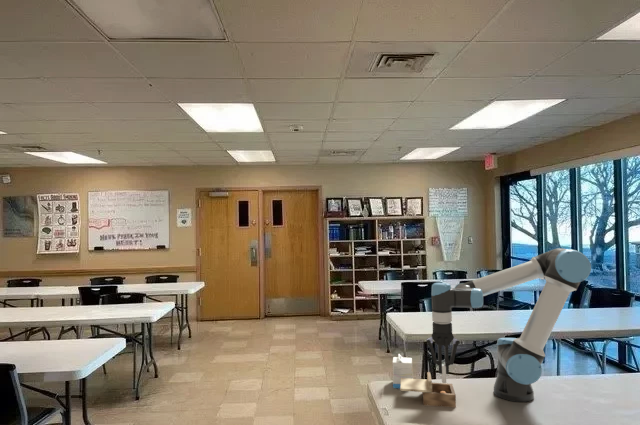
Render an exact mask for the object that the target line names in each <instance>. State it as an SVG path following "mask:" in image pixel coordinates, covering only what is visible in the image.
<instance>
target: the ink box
mask: <svg viewBox="0 0 640 425" xmlns="http://www.w3.org/2000/svg"><path fill="white" fill-rule="evenodd" d="M401 378H410V379H414V378H413V358H412V357H406V356H405V357H404V356H403V355H401V354H400V353H398V355H397V356H393V357H392V388H393V389H401Z"/></svg>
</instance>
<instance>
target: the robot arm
mask: <svg viewBox="0 0 640 425" xmlns="http://www.w3.org/2000/svg"><path fill="white" fill-rule="evenodd" d="M591 271H592V265H591V262H590V260H589V258H588V257H587V256H586V255H585V254H584V253H582V252H580V251H578V250H576V249H572V248H562V247H560V248H559V247H558V248H554V249H551V250H548V251H546V252H543V253H541V254H539V255H536V256H533V257H532V258H531V259H530V260H529V261H526V262H522V263H520V264H517V265H515V266H512V267H509V268H505V269H503V270H499V271H496V272H493V273H490V274H488V275H485V276H482V277H478V278H476V279H473V280H470V281H467V282H459V283H457V284H456V285H455V286H454V287H452V286H451V285H452V284H450V283H448V282H434V283H432V284H431V293H430V294H431V312H432V313H431V314H432V316H431V319H432V333H431V336H430V337H429V338H426V343H427V345H428V346H429V349H430V353H431V357H432V359H433V360H432V361H433V364H434V365H437V366H438V373H439V374H440V375H441V383H447V375H449V374H450V367H449V366H450V365H452V366H453V365H454V362H455V358H456V354H457V348H458V346H459V344H460V340H459V339H458V338H455V337H454V336H455V335H454V334H453V324H452V322H453V320H452V319H453V316H452V315H453V314H452V308H469V309H470V308H471V309H472V308H473V309H477V308H482V307H483V306H484V297H486V296H488V295H491V294H494V293H498V292H500V291H504V290H507V289H509V288H510V289H511V288H513V287H515V286H519V285H522V284H525V283H527V282H531V281H534V280H537V279H540V280H545V284H544V286H543V288H542V290H541V293H540V294H539V296H538V298H537V301H536V303H535V305H534V307H533V309H532V311H531V313H530V315H529V318H528V320H527V322H526V324H525V326H524V328H523V330H522V333H521V335H520V336H519V337H517V338H516V337H499V338H498V339H497V341H496V347H497V348H496V351H497V353H496V354H497V358H496V359H497V376H496V379H495V381H494V384H493V393H494V395H495V396H496V397H498V398H501V399H503V400H506V401H511V402H516V403H517V402H519V403H521V402H522V403H525V402H530V401H533V400H534V398H535V393H534V389H533V386H532V384H534V383H537V382H538V381H539V379H541V377H542V374H543V367H542V364H543V362H544V358H545V357H546V354H545V352H544V349H545V346H546V344H547V341H548V339H549V338H550V336H551V334H552V331H553V329H554V327H555V325H556V324H557V321H558V320H559V316H560V315H561V312H562V311H563V308H564V306H565V304H566V301H567V300H568V298H569V296H570V293H572V292H574V291H575V292H576V291H577V290H578V288H579V286H580V284H581V282H584V281H585V280H587V278H588V277H589V276H590V274H591ZM433 343H435V344H436V345H437V357H438V358H437V357H436V353H435V349H434V345H433ZM451 343H452V349H451V352H450V358H449V346H450V344H451ZM442 346H443V347H444V348H443V349H444V364H443V361H442V360H443V357H442V356H443V355H442V352H443V351H442Z"/></svg>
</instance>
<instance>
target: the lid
mask: <svg viewBox="0 0 640 425" xmlns="http://www.w3.org/2000/svg"><path fill="white" fill-rule="evenodd" d="M426 375H427V377H426V378H427V379H425V378H424V379H423V378H413V379H410V378H401V388H400V391H402V392H416V393H422V392H429V393H432V383H433V380H432V375H431V371H428V372H427V371H426Z"/></svg>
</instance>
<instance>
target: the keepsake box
mask: <svg viewBox="0 0 640 425" xmlns="http://www.w3.org/2000/svg"><path fill="white" fill-rule="evenodd" d="M441 391H445V392H446V393H440V392H441ZM421 393H422V394H421V395H422V402H423V406H431V407H433V406H434V407H445V408H446V407H447V408H457V400H456V399H457V397H456V396H457V395H456V392H455V389H454V385H453V383H447V382H446V383H442V382H432V393H429V392H421Z"/></svg>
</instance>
